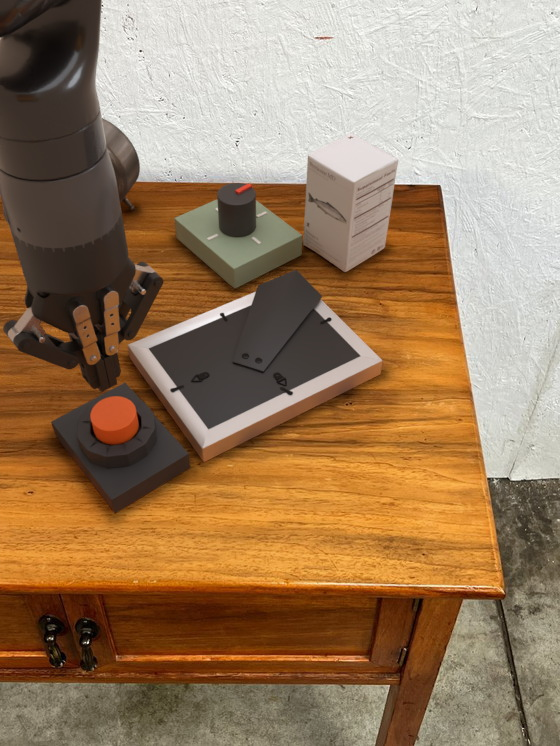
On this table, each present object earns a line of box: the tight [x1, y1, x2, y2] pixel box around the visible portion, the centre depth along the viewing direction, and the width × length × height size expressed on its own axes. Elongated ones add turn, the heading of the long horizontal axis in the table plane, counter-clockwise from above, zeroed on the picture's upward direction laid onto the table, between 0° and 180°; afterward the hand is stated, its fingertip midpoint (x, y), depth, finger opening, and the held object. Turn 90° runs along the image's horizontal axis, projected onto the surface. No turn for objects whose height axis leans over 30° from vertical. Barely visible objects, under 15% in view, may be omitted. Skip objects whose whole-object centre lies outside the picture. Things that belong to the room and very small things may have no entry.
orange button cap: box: [90, 396, 139, 445], centre depth 69 cm, size 4×4×2 cm
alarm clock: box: [102, 117, 141, 212], centre depth 93 cm, size 11×5×16 cm, turn 72°
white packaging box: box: [302, 132, 399, 273], centre depth 89 cm, size 7×7×13 cm
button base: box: [50, 382, 191, 514], centre depth 71 cm, size 11×8×4 cm
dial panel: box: [173, 199, 303, 290], centre depth 93 cm, size 12×10×3 cm
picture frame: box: [127, 269, 384, 463], centre depth 79 cm, size 16×3×21 cm
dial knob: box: [216, 182, 257, 237], centre depth 90 cm, size 4×4×5 cm
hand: (104, 382), depth 65 cm, fingers closed
